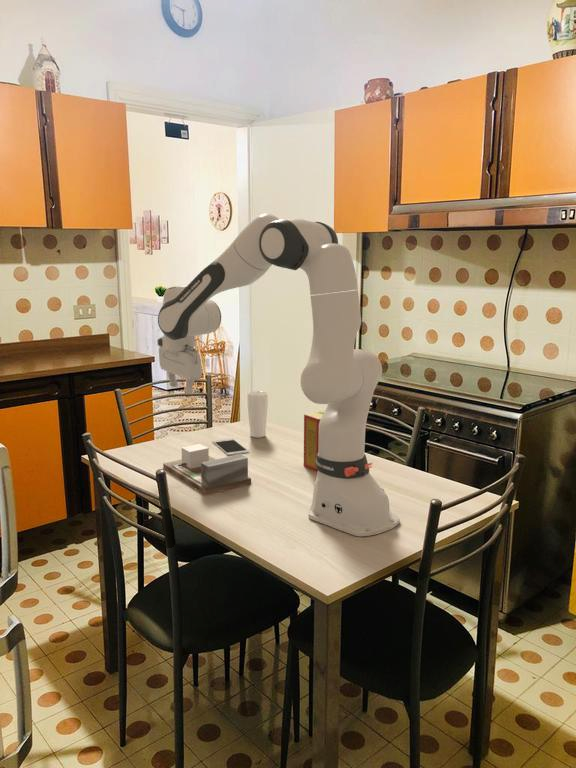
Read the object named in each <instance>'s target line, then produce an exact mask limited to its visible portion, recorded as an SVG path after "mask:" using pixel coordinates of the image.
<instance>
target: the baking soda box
mask: <svg viewBox="0 0 576 768" xmlns="http://www.w3.org/2000/svg"><path fill="white" fill-rule="evenodd" d="M324 413H325V410H320V411H316V412H309V413H306V414H303V467H305V468H307V469H309V470H311V471H313V472H314V471H315V473H318V470H317V468H316V458H317V453H318V444H319V422H320V420H321V418H322V416H323V414H324Z"/></svg>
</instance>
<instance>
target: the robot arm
mask: <svg viewBox="0 0 576 768" xmlns="http://www.w3.org/2000/svg"><path fill="white" fill-rule="evenodd" d="M353 261H354V260H353V258H352V254H351V252H350V250H349V249H348V248H347V247H346V246H345V245H342V244H339V239H338V236H337V233H336V232H335V230H334V229H333V228H332V227H331V226H330V225H328V224H326V223H323V222H320V221H311V220H306V219H302V218H295V219H284V218H283V219H281V218H279V217H277V216H275V215H273V214H270V213H263V214H259V215H258V216H257V217H255V219H253V220H252V221H251V222H249V224H248V225H246V227H244V229H242V230H241V231H240V233H239V234H238V235H237V236H236V237H235V238H234V240H233V241H232V242H231V244H230V245H228V247H227V248H226V249H225V250H224V251H223V252H222V253H221V254H220V255H219V256H218V257H217V258H216V259H214V260H213V261H212V262H211V263H209V264H208V265H207V266H206V267H204V268H203V269H202V270H201V271H200V272H199V273H198V274H197V275H196V276H195V277H194V278H193V279H192V280H191V281H190V282H189V283H188V285H177V286H172V287H168V288H167V289H166V290H165V292H164V294H163V295H164V296H163V300H162V301H163V302H162V303H163V304H162V306H161V308H160V309H159V312H158V316H157V323H158V327H159V329H160V331H161V332H162V334H163V336H161V337H158V338H157V339H156V342H157V346H158V361H159V366H160V369H161V370H163V371H165V372H166V373H167V378H168V380H169V387H171V388H177V387H178V381H177V378H176V376H178V377H180V378H184V379H185V386H183V387H184V388H183V389H184V390H183V391H184V393H185V394H187V395H188V394H192V393H193V386H194V384H195V381H199V380H201V378H202V376H203V369H202V358H201V355H200V353H199V352H198V351H197V348H196V337H197V336H201V335H208V334H212V333H214V332H216V331H217V330H218V329H219V328H220V326H221V322H222V314H221V313H222V312H221V309H220V307H219V305H218V304H217V303H216V302H215V301H213V300H211V298H213V297H214V296H216V295H217V294H220V293H223V292H226V291H229V290H233V289H238V288H241V287H246V286H249V285H251V284H253V283H255V282H256V281H258V280H259V279H260V278H261V277H262V276H264V275H265V273H267V271H268V270H269V269H270V268H271V267H272V266H274V267H278V268H283V269H288V270H291V271H297V270H299V269H300V270H302V271H304V273H305V274H306V276H307V279H308V283H309V284H308V285H309V293H310V294H309V295H310V303H311V306H310V307H311V312H312V313H311V314H312V316H311V317H312V325H313V327H312V328H313V329H312V340H311V347H310V353H309V358H308V361H307V363H306V364H305V367H304V369H303V370H302V372H301V375H300V387H301V391H302V393H303V395H304V396H305V397H306V398H307V399H308V400H309V401H310V402H312V403H314V404H318V405H326V407H325V408H326V409H325V410H324V411H325V413H324V414H323V416H322V418H321V420H320V422H319V444H318V453H317V458H316V468H317V470H318V472H316V473H317V474H316V478H315V482H314V484H313V485H314V487H313V493H312V501H311V505H310V511H309V512H308V519H310V520H312V521H315V522H317V523H321V524H323V525H325V526H329V527H330V528H334V529H336V530H339V531H341V532H344V533H347V534H350V535H352V536H355V537H368V536H369V537H370V536H374V535H378V534H381V533H384V532H387V531H390V530H392V529H394V528H395V527H396V526H398V525H399V524H400V519H401V518H400V517H399V516H398V515H397V514H395V513H393V512H391V511H390V510H391V509H390V499H389V496H388V494H387V493H386V492H385V490H384V488H383V487H381V486H380V485H379V484H378V482H377V481H376V480H375V478H374V477H373V476H372V475H371V473H370V469H371V468H373V466H372V465H373V462H369V463H368V458H367V456H366V454H365V447H366V446H365V445H366V444H365V443H366V428H367V427H366V426H367V421H368V420H367V419H368V415H369V410H370V407H371V403H372V399H373V395H374V393H375V390H376V388H377V385H378V383H379V382H380V380H381V378H382V375H383V366H382V362H381V360H380V358H379V357H378V356H377V355H376V354H375V353H374V352H373V351H370V350H366V349H359V348H355V343H356V337H357V334H358V332H359V330H360V329H361V325H362V316H361V315H362V314H361V305H360V304H361V303H360V296H359V294H360V293H359V287H358V285H359V284H358V279H357V273H356V269H355V266H354V265H355V264H354V262H353Z"/></svg>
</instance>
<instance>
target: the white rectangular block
mask: <svg viewBox="0 0 576 768" xmlns="http://www.w3.org/2000/svg"><path fill="white" fill-rule="evenodd" d="M209 456H210V455H209V447H207V446H205V445H203V444H201V443H196V444H192V445H188V446H183V447H181V459H182V464H178V466H183V465H184V466H186V467H188V468H190V469H192V468H197V467H201V463H202V462H206V461H209Z"/></svg>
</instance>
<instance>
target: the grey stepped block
mask: <svg viewBox="0 0 576 768" xmlns="http://www.w3.org/2000/svg"><path fill="white" fill-rule="evenodd" d="M248 460H249V458H248V457H246V456H245V455H244V454H238V455H231V456H224V457H220V458H216V459H215V458H213V457H212V456H210V455H209V461H206V462H202V463H201V467H197V468H192V469H190V468H188V467H186V466H184V465H183V466H178V464H182V458H181V459H177V460H173V461H168V462H163V464H162V465H163V467H162V468H163V469H164V468H165V469H164V470H166V471H167V472H169V473H170V474H171V475H173V476H175V477H177V479H180V480H181V481H183V482H184V483H186V484H187V485H189V486H191V487H192V488H194V489H195V488H196V489H195V490H197V491H198V490H199V492H201V493H202V494H204V495H205V496H208V495H212V494H215V493H220V492H224V491H227V490H231V489H235V488H236V489H237V488H239V487H242V486H243V487H244V486H246V485H251V484H252V477H249V467H248V466H249V463H248V462H249V461H248Z"/></svg>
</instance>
